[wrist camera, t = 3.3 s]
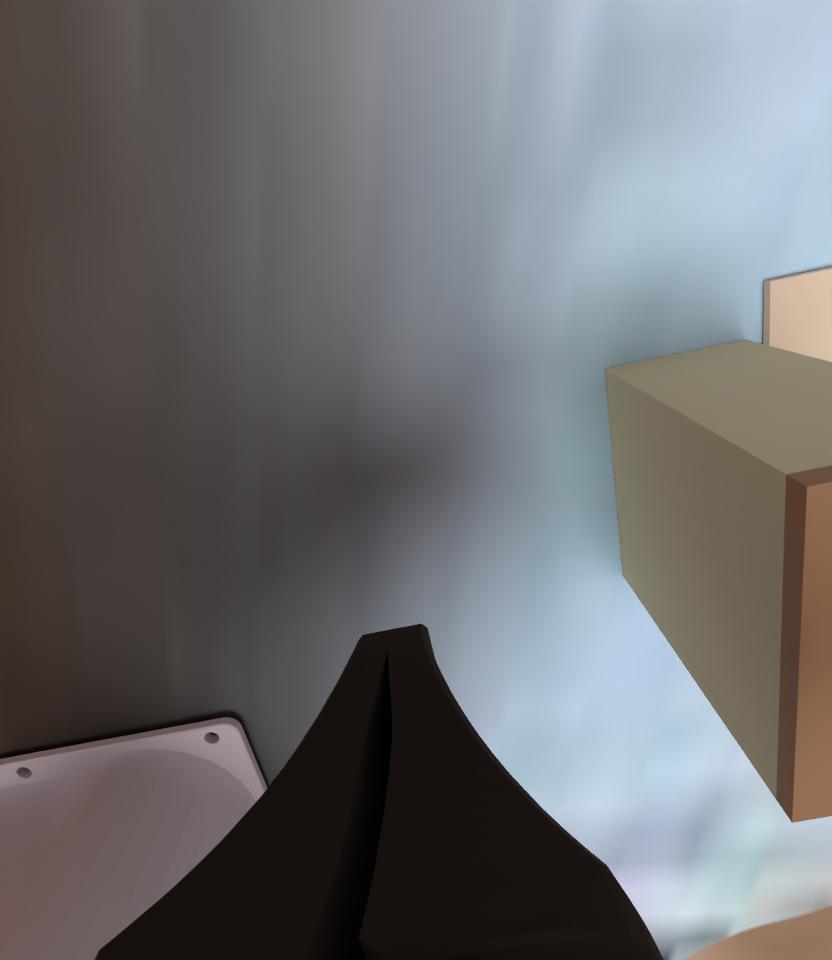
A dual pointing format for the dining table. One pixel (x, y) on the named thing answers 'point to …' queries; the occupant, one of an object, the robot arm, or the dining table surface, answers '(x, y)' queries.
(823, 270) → the mat
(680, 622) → the sage block
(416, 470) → the dining table surface
